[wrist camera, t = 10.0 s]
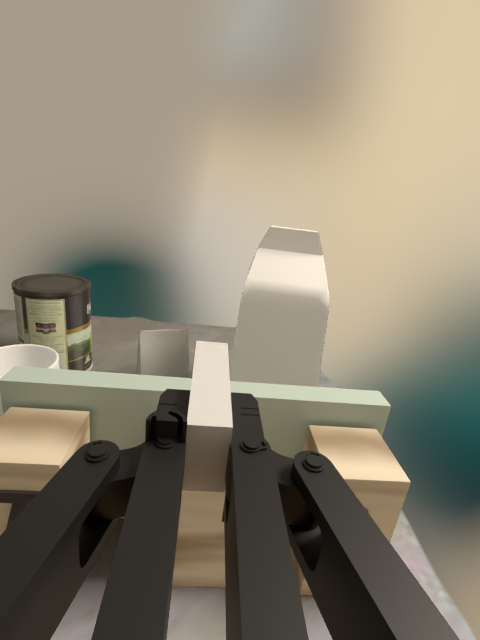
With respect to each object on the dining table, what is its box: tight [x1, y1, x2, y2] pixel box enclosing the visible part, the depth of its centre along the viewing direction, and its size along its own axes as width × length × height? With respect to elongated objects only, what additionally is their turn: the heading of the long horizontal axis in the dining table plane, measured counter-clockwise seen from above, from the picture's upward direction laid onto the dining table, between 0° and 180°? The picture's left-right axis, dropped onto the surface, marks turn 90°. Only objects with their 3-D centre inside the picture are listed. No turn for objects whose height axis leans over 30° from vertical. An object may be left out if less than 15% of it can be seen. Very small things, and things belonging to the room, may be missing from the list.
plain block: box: [172, 491, 226, 587], centre depth 30 cm, size 6×6×12 cm
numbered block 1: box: [290, 425, 410, 595], centre depth 31 cm, size 6×6×12 cm
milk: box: [229, 226, 329, 387], centre depth 50 cm, size 12×12×26 cm
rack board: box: [0, 366, 391, 519], centre depth 34 cm, size 2×32×14 cm, turn 93°
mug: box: [0, 344, 60, 418], centre depth 42 cm, size 12×8×10 cm
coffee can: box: [12, 274, 93, 371], centre depth 56 cm, size 10×10×14 cm
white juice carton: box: [137, 329, 189, 378], centre depth 54 cm, size 4×7×10 cm, turn 111°
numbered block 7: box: [0, 407, 90, 535], centre depth 28 cm, size 6×6×12 cm
